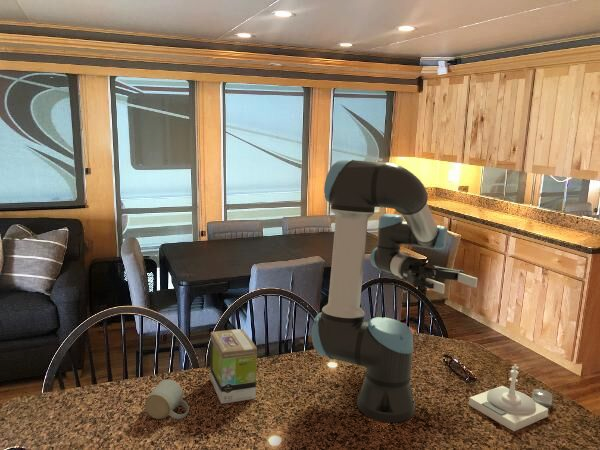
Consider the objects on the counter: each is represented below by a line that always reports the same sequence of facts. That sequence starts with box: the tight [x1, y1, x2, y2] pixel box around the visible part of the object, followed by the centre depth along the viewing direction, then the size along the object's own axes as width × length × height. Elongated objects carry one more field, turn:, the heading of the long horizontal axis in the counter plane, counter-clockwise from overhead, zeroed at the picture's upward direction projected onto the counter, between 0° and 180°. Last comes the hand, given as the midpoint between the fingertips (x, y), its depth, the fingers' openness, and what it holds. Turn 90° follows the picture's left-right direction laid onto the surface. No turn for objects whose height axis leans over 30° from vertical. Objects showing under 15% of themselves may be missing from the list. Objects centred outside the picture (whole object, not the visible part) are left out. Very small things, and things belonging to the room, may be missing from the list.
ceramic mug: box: [144, 379, 190, 420], centre depth 126 cm, size 10×8×7 cm
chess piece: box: [501, 363, 521, 404], centre depth 133 cm, size 5×5×10 cm
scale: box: [468, 385, 549, 432], centre depth 134 cm, size 14×14×3 cm
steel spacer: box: [531, 388, 553, 409], centre depth 138 cm, size 5×5×3 cm
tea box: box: [209, 328, 258, 404], centre depth 139 cm, size 15×10×15 cm
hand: (460, 286), depth 142 cm, fingers open, 13 cm apart
